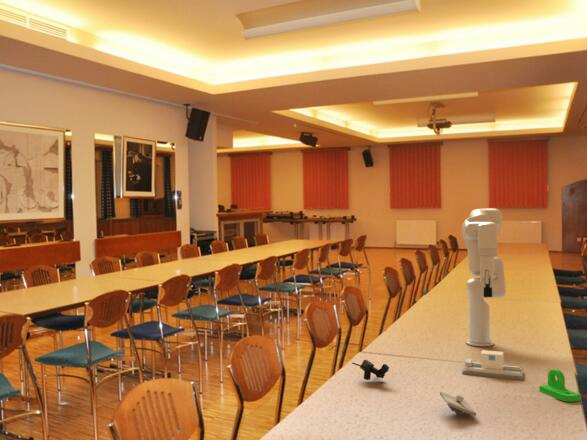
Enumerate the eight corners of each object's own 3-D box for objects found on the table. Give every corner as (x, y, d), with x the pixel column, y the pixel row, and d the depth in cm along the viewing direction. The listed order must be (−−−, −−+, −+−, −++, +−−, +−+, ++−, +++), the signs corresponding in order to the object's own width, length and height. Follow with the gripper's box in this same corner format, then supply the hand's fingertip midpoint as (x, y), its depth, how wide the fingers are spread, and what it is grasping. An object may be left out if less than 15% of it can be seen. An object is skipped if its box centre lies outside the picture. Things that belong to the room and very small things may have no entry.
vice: (390, 390, 203) (371, 374, 212) (401, 371, 203) (381, 355, 211) (362, 385, 192) (343, 368, 200) (374, 364, 191) (354, 348, 200)
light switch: (466, 404, 175) (466, 389, 174) (477, 417, 165) (477, 401, 165) (438, 405, 175) (438, 389, 174) (447, 417, 165) (448, 401, 165)
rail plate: (464, 366, 217) (464, 356, 217) (522, 372, 208) (522, 362, 208) (462, 373, 208) (462, 363, 207) (522, 380, 199) (522, 369, 199)
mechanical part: (539, 391, 187) (539, 369, 187) (552, 389, 189) (551, 367, 189) (567, 402, 176) (567, 379, 176) (580, 400, 178) (580, 377, 178)
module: (482, 367, 212) (482, 350, 212) (503, 369, 209) (503, 351, 208) (481, 370, 207) (481, 353, 207) (502, 373, 204) (502, 355, 204)
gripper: (479, 251, 224) (479, 293, 224) (476, 254, 210) (476, 299, 211) (498, 251, 221) (498, 294, 221) (496, 254, 207) (496, 300, 208)
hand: (487, 296), depth 216 cm, fingers closed
